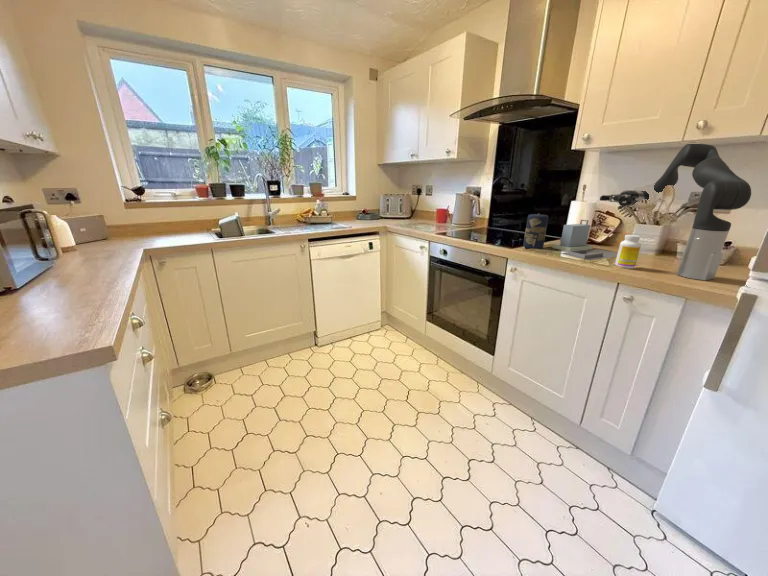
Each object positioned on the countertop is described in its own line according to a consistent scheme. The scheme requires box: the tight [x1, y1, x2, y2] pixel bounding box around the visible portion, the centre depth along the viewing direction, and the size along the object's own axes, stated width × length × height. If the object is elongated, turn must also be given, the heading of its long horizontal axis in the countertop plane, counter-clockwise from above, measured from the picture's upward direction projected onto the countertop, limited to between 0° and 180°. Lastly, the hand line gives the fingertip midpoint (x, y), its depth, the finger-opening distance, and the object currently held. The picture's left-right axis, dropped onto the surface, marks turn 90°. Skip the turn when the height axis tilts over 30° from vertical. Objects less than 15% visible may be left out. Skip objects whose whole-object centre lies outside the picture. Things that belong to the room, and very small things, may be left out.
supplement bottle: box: [614, 234, 642, 270], centre depth 124 cm, size 7×7×13 cm
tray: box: [552, 243, 594, 252], centre depth 156 cm, size 10×17×2 cm, turn 112°
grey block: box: [559, 219, 591, 248], centre depth 154 cm, size 5×12×14 cm, turn 112°
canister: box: [522, 212, 550, 250], centre depth 157 cm, size 10×10×18 cm
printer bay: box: [560, 248, 618, 261], centre depth 144 cm, size 14×27×2 cm, turn 112°
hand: (609, 198), depth 150 cm, fingers open, 8 cm apart
